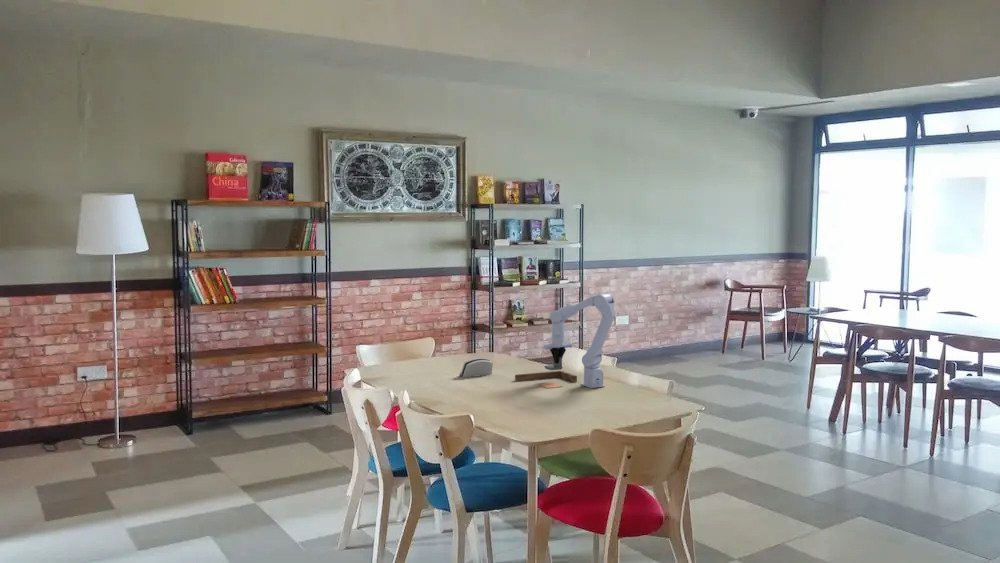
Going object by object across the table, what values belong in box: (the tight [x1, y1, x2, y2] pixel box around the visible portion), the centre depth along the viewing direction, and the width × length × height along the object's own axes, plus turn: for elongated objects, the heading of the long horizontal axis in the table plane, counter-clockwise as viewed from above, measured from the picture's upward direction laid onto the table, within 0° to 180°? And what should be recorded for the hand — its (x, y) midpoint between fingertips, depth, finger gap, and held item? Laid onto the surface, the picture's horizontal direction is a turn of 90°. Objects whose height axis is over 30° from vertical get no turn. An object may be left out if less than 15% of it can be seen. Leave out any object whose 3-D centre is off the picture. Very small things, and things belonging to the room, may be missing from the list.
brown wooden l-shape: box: [514, 370, 578, 383], centre depth 396 cm, size 15×26×3 cm, turn 115°
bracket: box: [544, 356, 563, 371], centre depth 394 cm, size 6×6×6 cm
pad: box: [539, 382, 563, 389], centre depth 386 cm, size 8×8×1 cm
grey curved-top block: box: [458, 357, 493, 378], centre depth 411 cm, size 17×5×10 cm, turn 124°
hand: (557, 363), depth 396 cm, fingers closed on bracket
